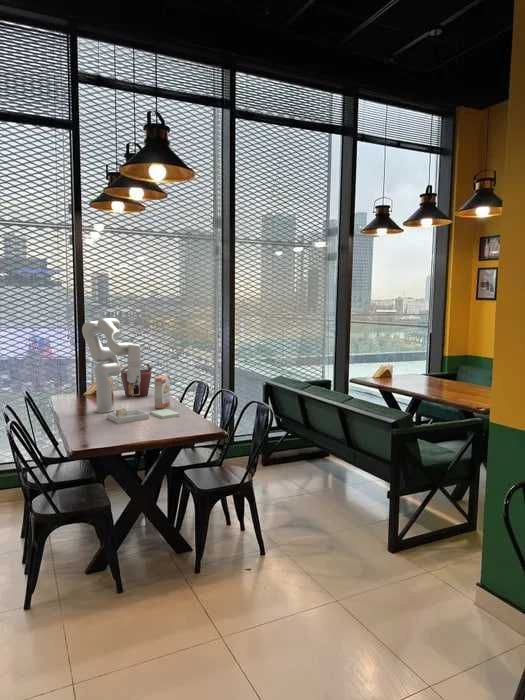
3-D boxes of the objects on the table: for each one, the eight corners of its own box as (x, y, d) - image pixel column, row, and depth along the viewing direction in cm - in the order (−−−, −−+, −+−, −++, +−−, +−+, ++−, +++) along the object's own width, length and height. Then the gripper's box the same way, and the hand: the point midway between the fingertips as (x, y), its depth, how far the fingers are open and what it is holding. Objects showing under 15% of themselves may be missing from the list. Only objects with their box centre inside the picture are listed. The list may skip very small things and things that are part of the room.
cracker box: (162, 409, 333) (162, 378, 331) (154, 408, 334) (153, 377, 332) (170, 404, 346) (170, 375, 344) (162, 404, 348) (162, 374, 345)
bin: (107, 419, 305) (107, 413, 305) (138, 414, 317) (138, 409, 317) (118, 424, 293) (118, 418, 292) (149, 419, 305) (149, 413, 305)
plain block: (115, 419, 302) (115, 409, 302) (123, 418, 306) (123, 408, 305) (119, 420, 299) (119, 411, 298) (127, 419, 302) (126, 409, 301)
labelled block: (128, 394, 307) (128, 384, 306) (136, 393, 310) (136, 383, 309) (132, 395, 303) (132, 386, 302) (139, 394, 306) (139, 385, 305)
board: (150, 414, 317) (150, 411, 317) (167, 411, 325) (167, 408, 324) (162, 419, 305) (162, 416, 305) (179, 416, 312) (179, 413, 312)
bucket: (151, 392, 393) (150, 360, 390) (156, 397, 373) (156, 364, 370) (119, 394, 383) (118, 362, 380) (123, 399, 363) (122, 365, 360)
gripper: (122, 362, 309) (122, 391, 311) (134, 366, 295) (134, 396, 298) (133, 362, 313) (134, 390, 315) (145, 365, 300) (146, 395, 302)
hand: (134, 393), depth 306 cm, fingers closed on labelled block, 5 cm apart
